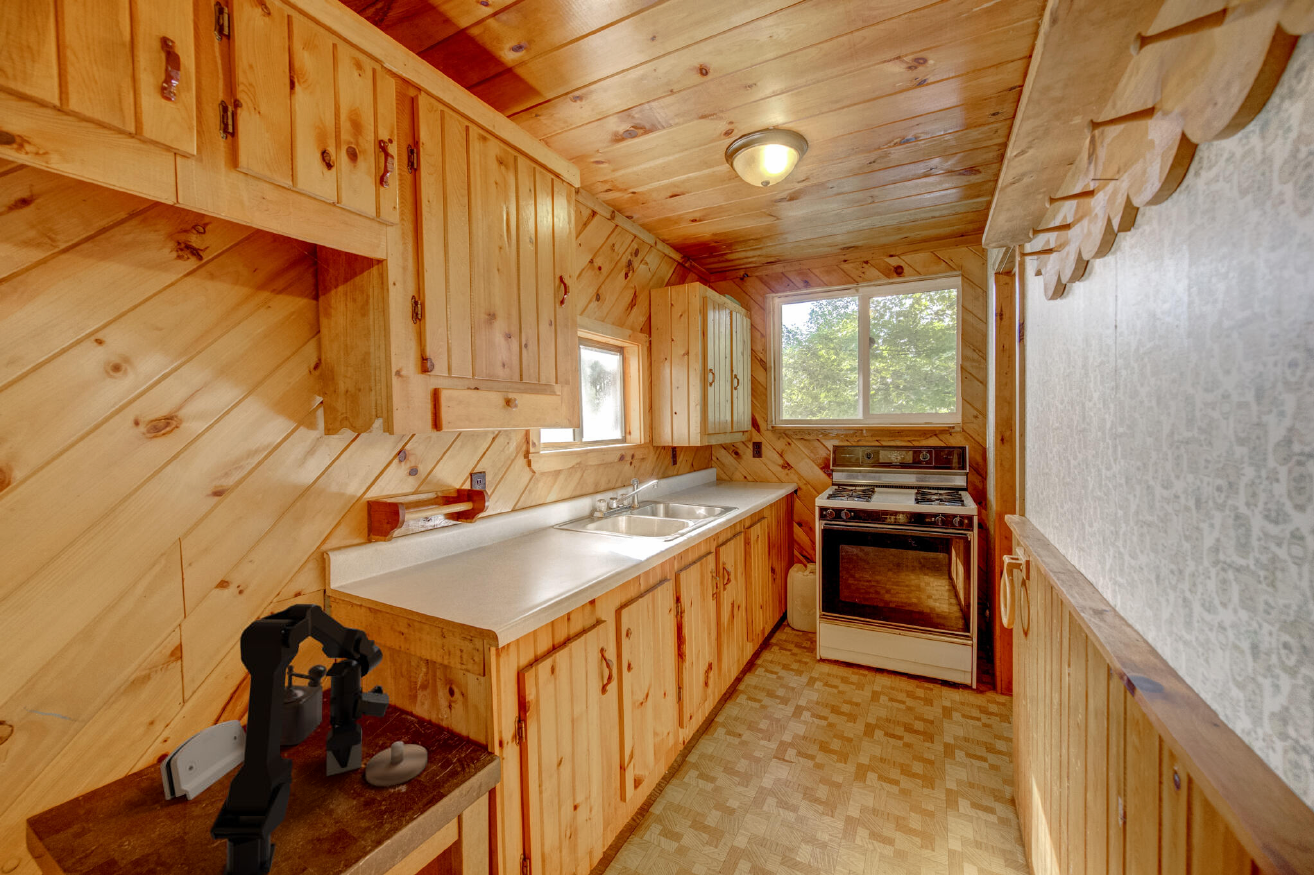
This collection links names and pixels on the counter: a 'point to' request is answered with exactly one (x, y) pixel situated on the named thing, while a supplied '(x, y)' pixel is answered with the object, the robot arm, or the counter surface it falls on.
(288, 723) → the dark grey coffee grinder
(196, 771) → the grey napkin holder
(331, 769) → the grey block
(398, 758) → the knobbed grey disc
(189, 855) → the counter surface
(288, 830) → the counter surface
